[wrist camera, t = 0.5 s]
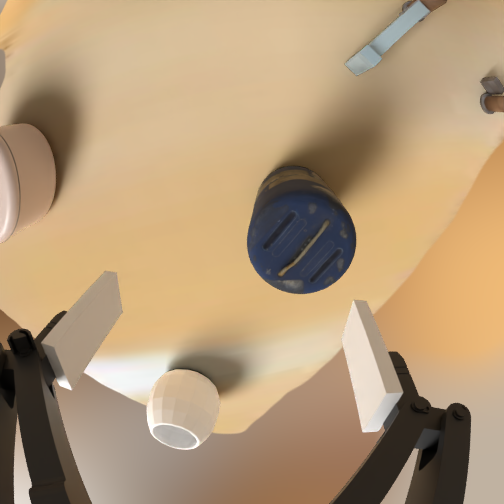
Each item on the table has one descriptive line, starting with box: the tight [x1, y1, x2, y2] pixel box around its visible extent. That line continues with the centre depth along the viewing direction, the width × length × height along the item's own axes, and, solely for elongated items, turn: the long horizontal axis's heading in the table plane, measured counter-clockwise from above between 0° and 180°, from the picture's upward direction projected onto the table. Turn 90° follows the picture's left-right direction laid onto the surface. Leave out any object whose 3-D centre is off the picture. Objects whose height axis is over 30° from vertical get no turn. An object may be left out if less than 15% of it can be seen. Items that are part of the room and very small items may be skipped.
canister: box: [247, 166, 356, 294], centre depth 32 cm, size 10×10×18 cm
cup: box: [147, 369, 220, 450], centre depth 50 cm, size 13×13×14 cm
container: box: [0, 123, 56, 243], centre depth 35 cm, size 18×18×12 cm
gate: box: [345, 0, 431, 76], centre depth 27 cm, size 13×2×8 cm, turn 139°
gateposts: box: [402, 0, 504, 114], centre depth 26 cm, size 21×4×8 cm, turn 49°
